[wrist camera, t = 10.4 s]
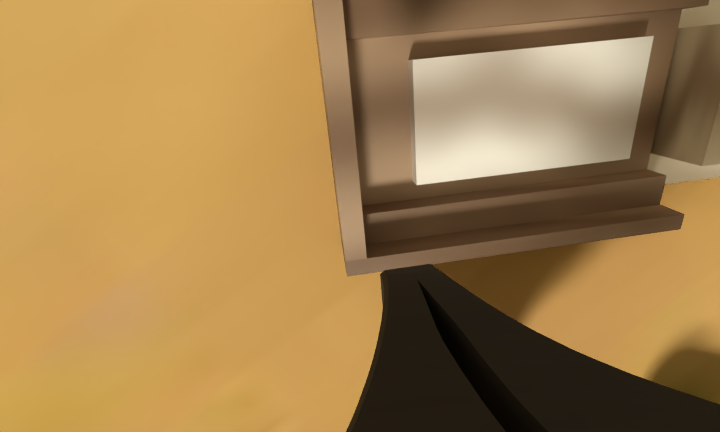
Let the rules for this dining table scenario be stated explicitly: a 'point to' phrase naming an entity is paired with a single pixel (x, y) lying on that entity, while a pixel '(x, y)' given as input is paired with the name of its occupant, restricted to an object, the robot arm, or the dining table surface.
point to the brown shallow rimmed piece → (492, 124)
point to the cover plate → (691, 101)
